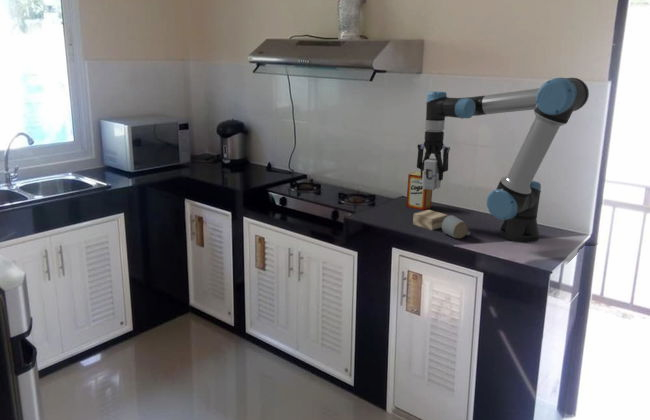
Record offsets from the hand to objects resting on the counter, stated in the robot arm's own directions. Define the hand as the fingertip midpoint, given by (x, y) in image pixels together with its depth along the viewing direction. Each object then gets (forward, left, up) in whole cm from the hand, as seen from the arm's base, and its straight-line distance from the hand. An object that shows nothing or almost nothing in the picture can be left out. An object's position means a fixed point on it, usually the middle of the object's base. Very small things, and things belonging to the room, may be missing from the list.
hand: (431, 186), depth 229 cm
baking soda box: (+16, -22, -17) cm, 32 cm away
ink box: (0, 0, -1) cm, 1 cm away
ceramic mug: (-16, +6, -17) cm, 24 cm away
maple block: (-1, 0, -17) cm, 17 cm away
